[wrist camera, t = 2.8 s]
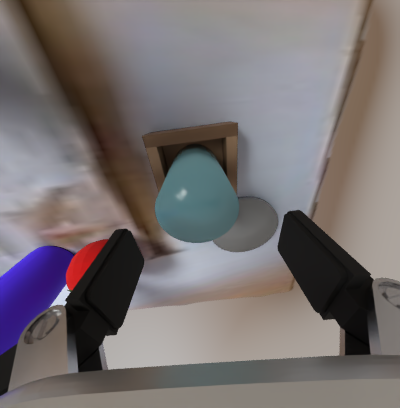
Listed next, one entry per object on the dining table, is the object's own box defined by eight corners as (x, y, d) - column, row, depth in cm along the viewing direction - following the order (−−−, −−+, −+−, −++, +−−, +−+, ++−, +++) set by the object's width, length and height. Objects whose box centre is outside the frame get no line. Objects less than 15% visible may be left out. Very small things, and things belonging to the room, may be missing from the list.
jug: (168, 147, 19) (143, 179, 9) (216, 140, 19) (240, 166, 9) (182, 212, 24) (175, 274, 15) (220, 207, 24) (237, 267, 14)
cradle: (150, 132, 18) (142, 136, 15) (230, 121, 18) (237, 123, 15) (168, 201, 23) (165, 213, 20) (230, 193, 23) (236, 204, 20)
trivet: (206, 201, 24) (207, 205, 23) (280, 192, 23) (283, 195, 23) (212, 251, 30) (212, 255, 29) (270, 244, 30) (272, 248, 29)
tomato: (117, 270, 32) (90, 326, 24) (76, 240, 27) (23, 298, 19) (157, 254, 30) (142, 309, 21) (120, 218, 25) (82, 272, 16)
